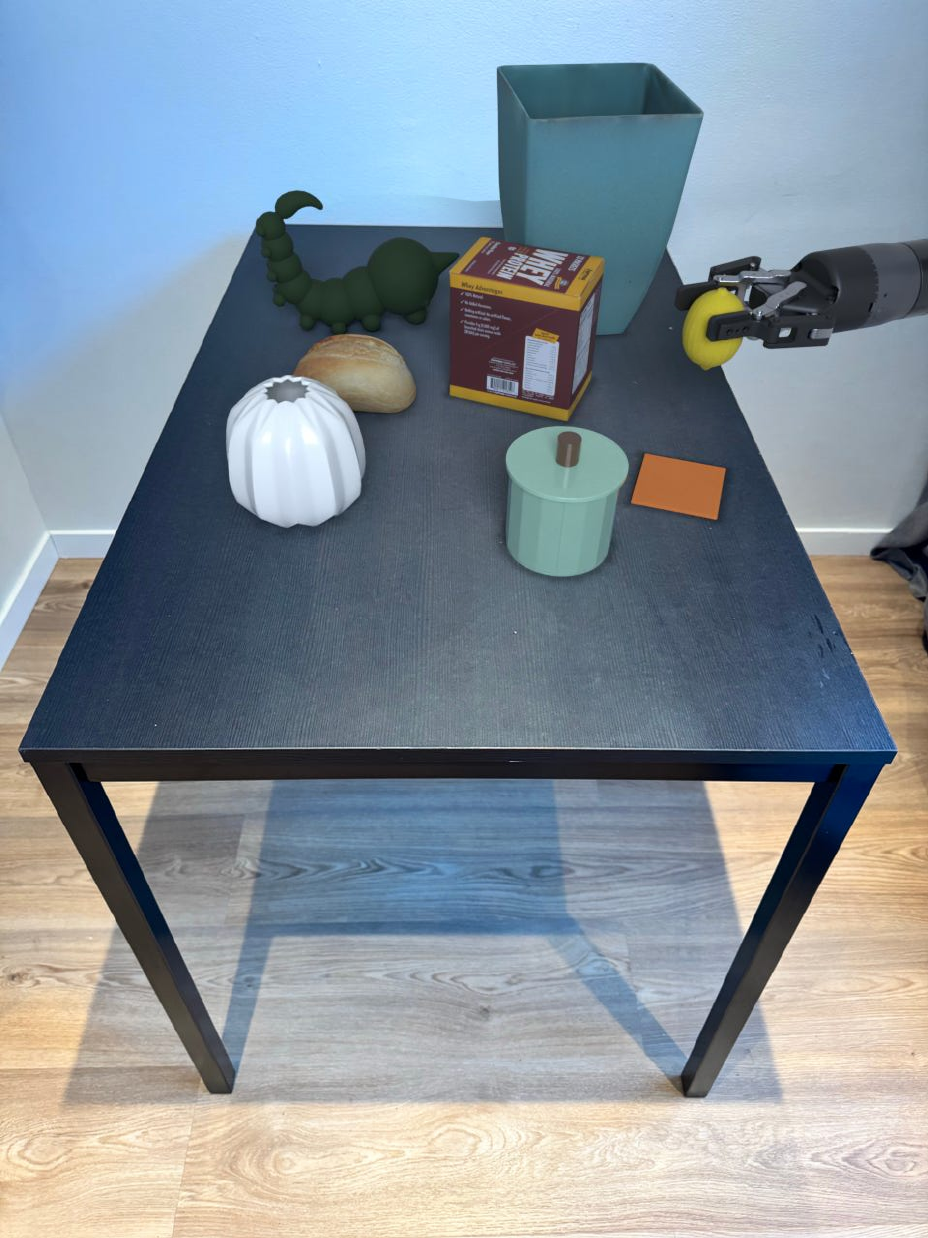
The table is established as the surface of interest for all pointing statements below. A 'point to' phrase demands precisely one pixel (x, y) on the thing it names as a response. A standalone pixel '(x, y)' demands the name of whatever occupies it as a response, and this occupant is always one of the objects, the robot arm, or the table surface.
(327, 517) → the vase
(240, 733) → the table surface
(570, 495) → the pot lid
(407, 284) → the toy figurine
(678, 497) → the orange square coaster
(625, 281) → the flower pot
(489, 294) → the supplement box
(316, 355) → the bread roll
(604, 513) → the pot
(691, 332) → the lemon
